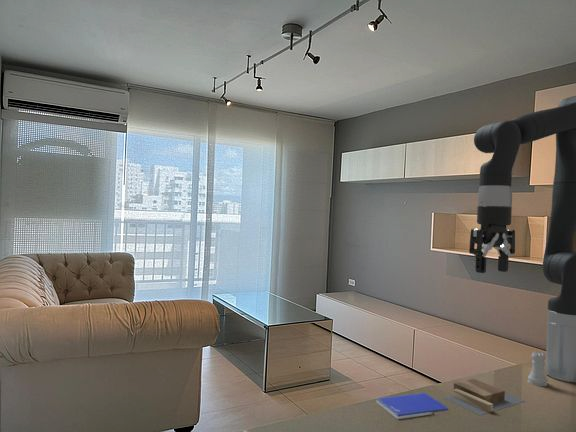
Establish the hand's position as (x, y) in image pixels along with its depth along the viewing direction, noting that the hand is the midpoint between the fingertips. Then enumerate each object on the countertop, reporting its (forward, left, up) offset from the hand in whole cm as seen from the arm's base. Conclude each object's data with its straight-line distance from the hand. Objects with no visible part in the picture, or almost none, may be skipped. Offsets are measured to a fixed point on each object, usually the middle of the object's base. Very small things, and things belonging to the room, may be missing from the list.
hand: (491, 272), depth 106 cm
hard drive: (+25, 0, -29) cm, 38 cm away
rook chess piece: (-14, +4, -28) cm, 32 cm away
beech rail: (+13, +5, -28) cm, 31 cm away
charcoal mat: (+8, +5, -28) cm, 30 cm away
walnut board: (+11, +3, -27) cm, 29 cm away
